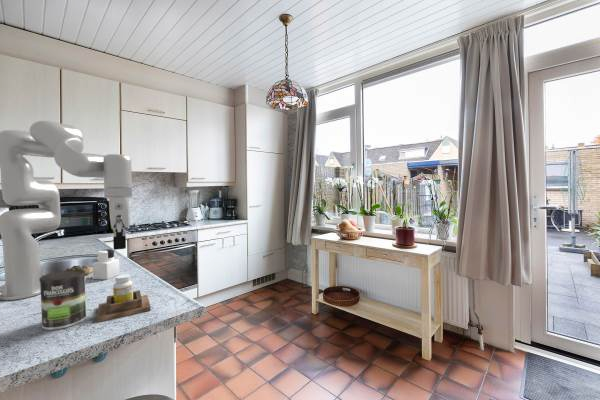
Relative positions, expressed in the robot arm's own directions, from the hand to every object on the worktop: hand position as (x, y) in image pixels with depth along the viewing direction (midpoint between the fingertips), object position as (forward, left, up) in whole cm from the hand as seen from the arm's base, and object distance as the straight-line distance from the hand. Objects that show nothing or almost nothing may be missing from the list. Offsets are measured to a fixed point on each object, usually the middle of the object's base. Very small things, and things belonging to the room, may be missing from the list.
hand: (119, 246), depth 90 cm
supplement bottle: (+1, -1, -20) cm, 20 cm away
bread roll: (-16, +53, -21) cm, 60 cm away
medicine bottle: (-5, +42, -21) cm, 47 cm away
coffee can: (-14, -1, -21) cm, 25 cm away
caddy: (+1, -1, -21) cm, 21 cm away
